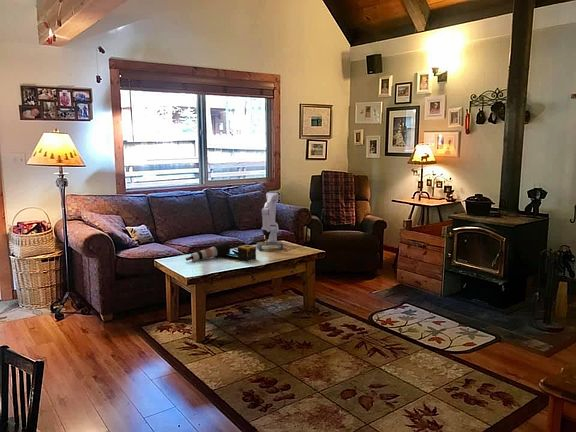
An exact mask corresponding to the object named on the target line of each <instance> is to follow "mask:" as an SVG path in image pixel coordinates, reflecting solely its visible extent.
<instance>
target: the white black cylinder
mask: <svg viewBox="0 0 576 432" xmlns="http://www.w3.org/2000/svg"><path fill="white" fill-rule="evenodd" d="M230 253H231V248H230V245H229V243H228V242H227V241H222V242H220V243H214V244H212V245H211V247H209V248H205V249H202V250H198V251H196V252H193V253H191V254H190V256H189V257H186V258H185V261H190V260H191V261H192V262H197V261H202V260H206V259H211V258H213V257H214V258H216V259H217V258H222V257H224V256H228V255H230Z"/></svg>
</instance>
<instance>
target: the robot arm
mask: <svg viewBox="0 0 576 432" xmlns="http://www.w3.org/2000/svg"><path fill="white" fill-rule="evenodd" d="M265 198H266V202H265V203H264V205H263V206H264V207H263V208H261V217H262V227H261V231H262V233H263V234H262V235H263V236H264V235H265V239H264V240H265V241H266V240H268V242H272V241H278V239H277V238H278V237H277V234H278V233H279V224H278V223H277V221H276V213H277V212H276V209H277V203H278V202H279V193H278V192H266V194H265ZM268 244H269V243H268Z"/></svg>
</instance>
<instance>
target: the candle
mask: <svg viewBox="0 0 576 432" xmlns="http://www.w3.org/2000/svg"><path fill="white" fill-rule="evenodd" d="M237 260H238V261H241V262H250V261H254V260H257V245H256V246H255V245H251V244H244V245H239V246H237Z"/></svg>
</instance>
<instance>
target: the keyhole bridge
mask: <svg viewBox="0 0 576 432" xmlns="http://www.w3.org/2000/svg"><path fill="white" fill-rule="evenodd" d="M268 243H269V244H265V241H258V242H257V241H256V250H258V251H259V252H262V251H263V249H262V248H263V247H264V246H277V248H278V249H280V250H284V242H282V241H281V240H277V241H272V242H268Z"/></svg>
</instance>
